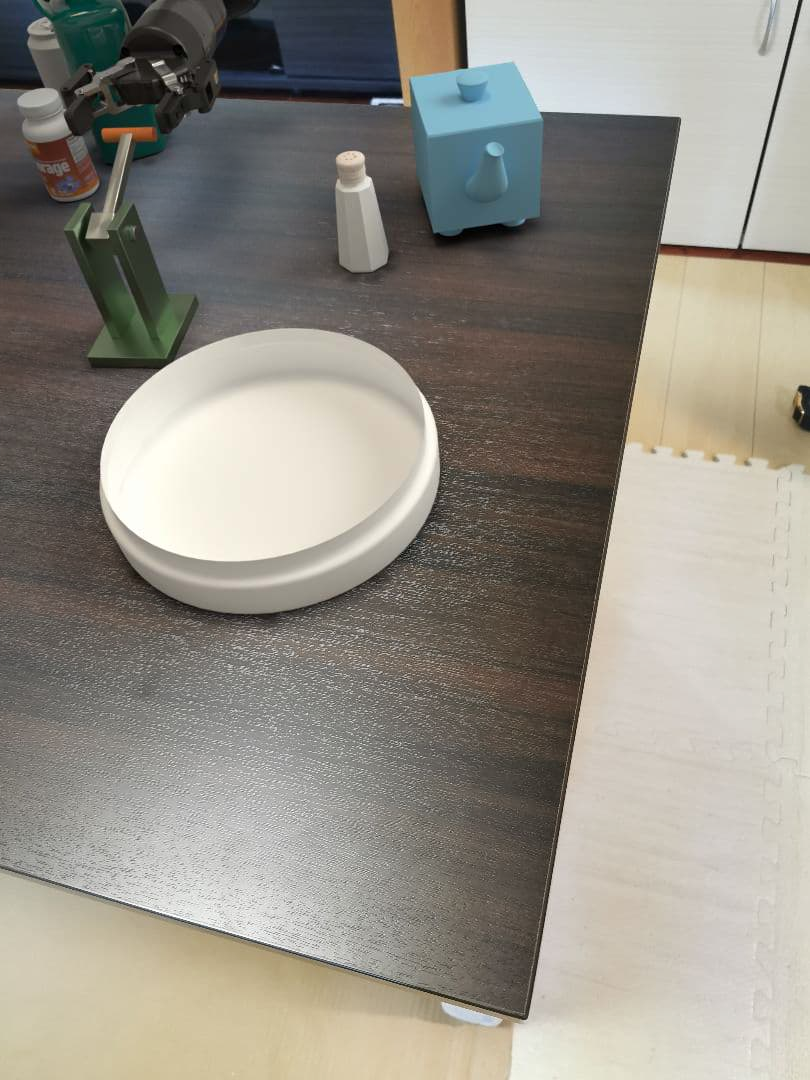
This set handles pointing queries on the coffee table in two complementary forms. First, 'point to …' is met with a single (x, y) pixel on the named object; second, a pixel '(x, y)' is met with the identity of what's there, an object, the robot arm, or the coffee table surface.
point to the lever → (116, 184)
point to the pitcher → (100, 61)
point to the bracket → (130, 319)
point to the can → (47, 55)
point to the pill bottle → (56, 147)
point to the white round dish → (270, 470)
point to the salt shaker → (358, 217)
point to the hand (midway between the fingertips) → (116, 125)
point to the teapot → (477, 147)
